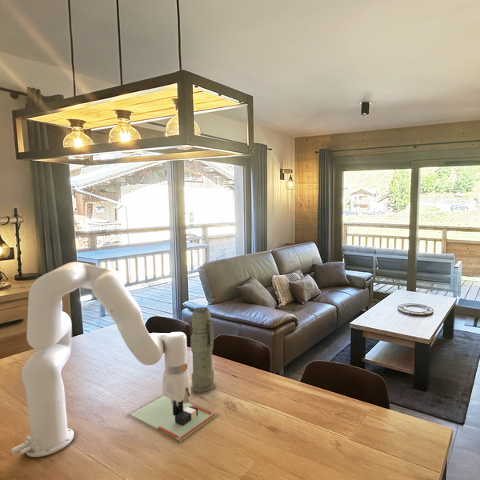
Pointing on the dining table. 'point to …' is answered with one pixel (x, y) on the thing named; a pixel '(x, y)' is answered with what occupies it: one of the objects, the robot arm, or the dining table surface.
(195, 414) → the eraser
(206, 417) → the desk mat
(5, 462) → the dining table surface
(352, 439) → the dining table surface
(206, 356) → the thermos
